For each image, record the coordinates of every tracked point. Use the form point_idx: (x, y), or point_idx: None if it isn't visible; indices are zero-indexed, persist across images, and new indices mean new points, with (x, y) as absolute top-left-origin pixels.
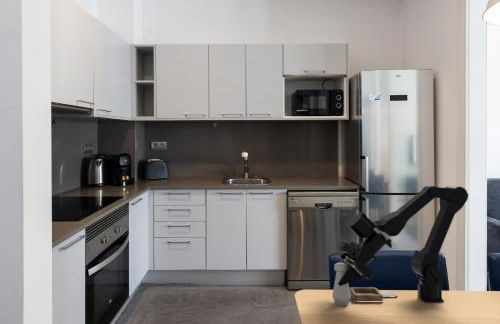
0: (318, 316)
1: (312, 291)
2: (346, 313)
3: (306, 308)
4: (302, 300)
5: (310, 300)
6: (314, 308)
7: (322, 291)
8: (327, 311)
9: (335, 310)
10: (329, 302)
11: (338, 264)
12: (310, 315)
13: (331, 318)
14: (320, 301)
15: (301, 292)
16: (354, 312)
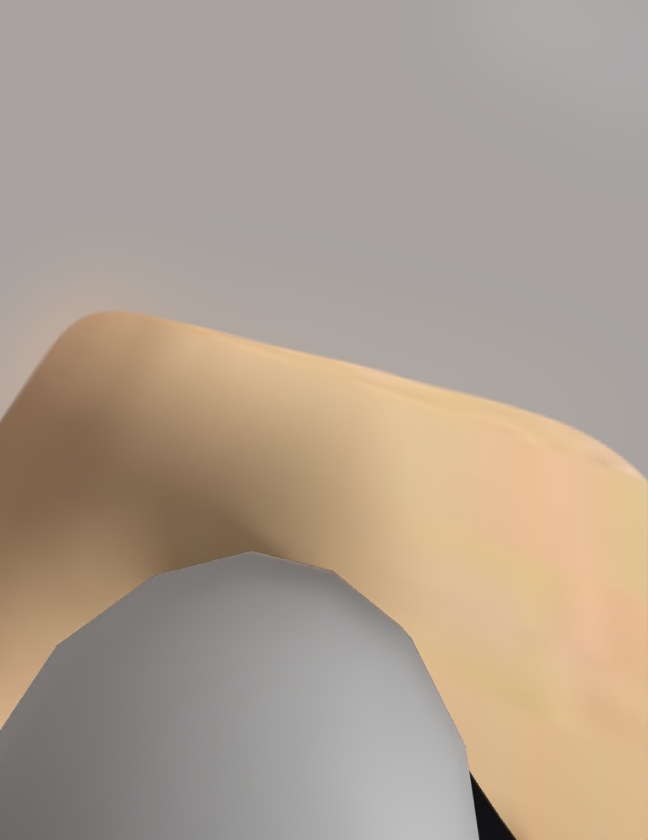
0: (87, 380)
1: (626, 534)
2: (38, 590)
3: (253, 366)
4: (412, 395)
5: (405, 443)
6: (237, 409)
7: (636, 622)
8: (147, 466)
9: (141, 531)
10: (334, 562)
11: (140, 659)
12: (126, 346)
13: (9, 439)
14: (371, 502)
15: (593, 447)
16: (22, 677)
